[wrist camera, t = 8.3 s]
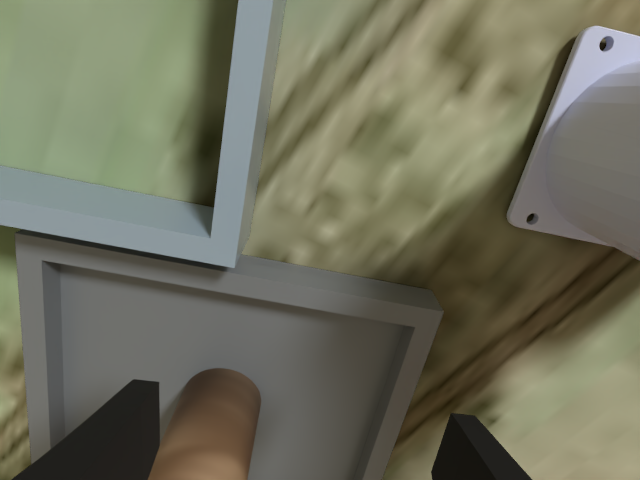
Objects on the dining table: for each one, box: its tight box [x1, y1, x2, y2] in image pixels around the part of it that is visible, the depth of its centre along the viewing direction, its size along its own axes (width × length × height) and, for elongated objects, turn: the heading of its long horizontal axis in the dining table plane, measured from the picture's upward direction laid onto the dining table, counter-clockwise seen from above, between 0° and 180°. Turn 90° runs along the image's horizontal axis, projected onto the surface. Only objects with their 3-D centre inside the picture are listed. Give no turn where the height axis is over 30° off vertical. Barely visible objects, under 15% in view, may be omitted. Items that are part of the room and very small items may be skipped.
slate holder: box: [0, 0, 286, 268], centre depth 13 cm, size 14×14×4 cm
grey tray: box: [15, 229, 444, 480], centre depth 20 cm, size 18×16×2 cm
